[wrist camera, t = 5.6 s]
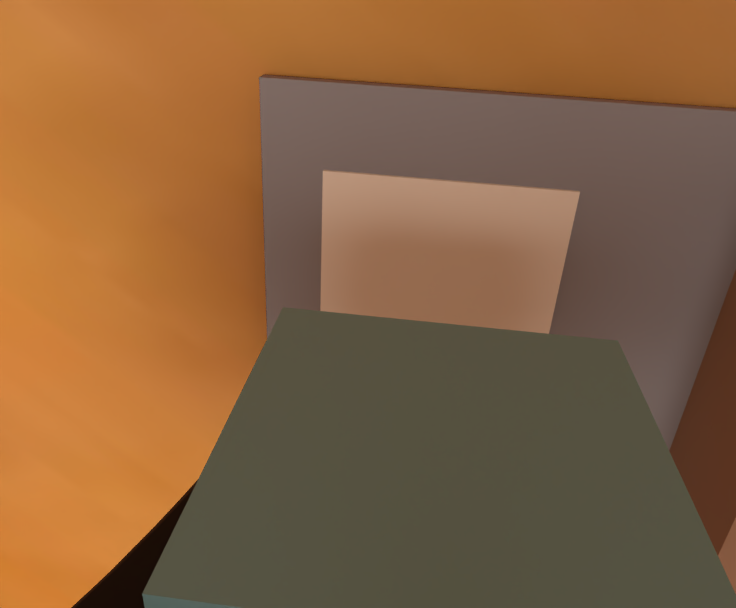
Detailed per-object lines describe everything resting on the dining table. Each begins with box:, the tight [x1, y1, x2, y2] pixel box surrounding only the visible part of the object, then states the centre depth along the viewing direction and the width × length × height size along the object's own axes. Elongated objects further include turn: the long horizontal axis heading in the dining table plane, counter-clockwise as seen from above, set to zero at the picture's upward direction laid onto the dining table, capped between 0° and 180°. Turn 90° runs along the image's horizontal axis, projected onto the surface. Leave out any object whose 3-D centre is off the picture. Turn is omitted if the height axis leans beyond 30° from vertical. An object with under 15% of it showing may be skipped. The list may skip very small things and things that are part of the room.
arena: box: [259, 75, 736, 594], centre depth 16 cm, size 13×15×4 cm
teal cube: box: [142, 307, 736, 608], centre depth 8 cm, size 5×5×5 cm
